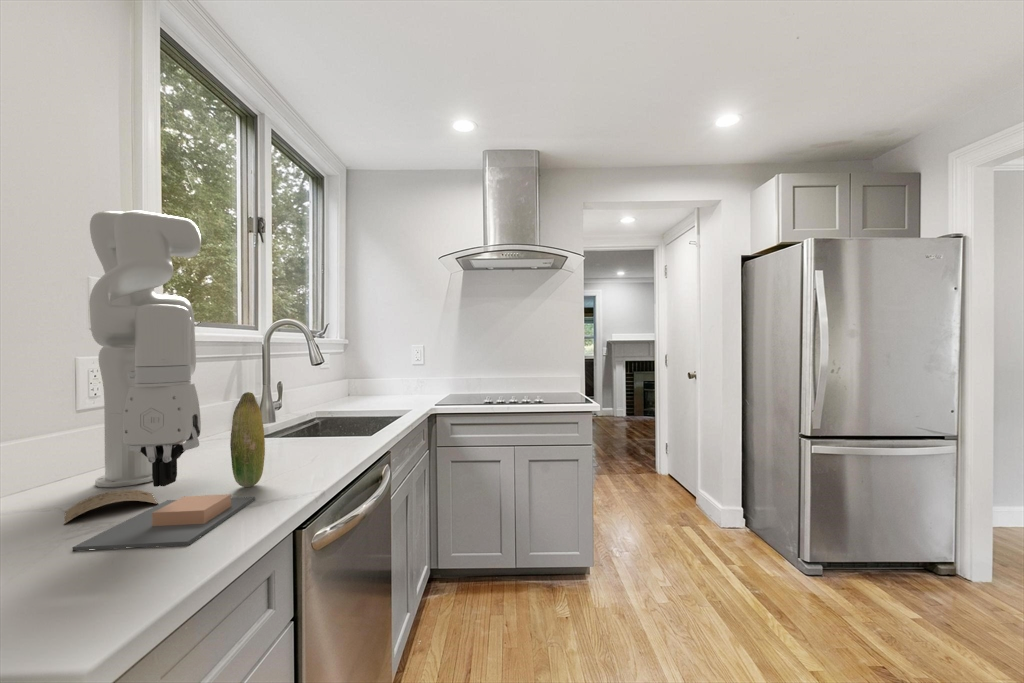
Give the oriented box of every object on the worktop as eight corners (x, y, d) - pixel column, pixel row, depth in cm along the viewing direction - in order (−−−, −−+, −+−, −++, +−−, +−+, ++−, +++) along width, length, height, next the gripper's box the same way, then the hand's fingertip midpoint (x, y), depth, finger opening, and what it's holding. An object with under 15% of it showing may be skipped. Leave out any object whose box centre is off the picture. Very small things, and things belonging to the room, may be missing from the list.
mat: (167, 503, 85) (167, 500, 85) (254, 499, 86) (254, 496, 86) (72, 551, 65) (72, 547, 65) (188, 545, 66) (188, 541, 66)
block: (184, 496, 80) (230, 494, 81) (184, 508, 80) (231, 506, 81) (152, 512, 72) (204, 510, 73) (152, 526, 72) (204, 523, 73)
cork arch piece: (59, 529, 75) (59, 513, 75) (56, 515, 81) (56, 500, 81) (167, 506, 85) (167, 492, 85) (156, 495, 92) (156, 482, 92)
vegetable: (272, 484, 96) (271, 391, 96) (248, 493, 90) (247, 394, 90) (249, 482, 98) (248, 390, 98) (224, 491, 92) (223, 393, 92)
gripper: (98, 379, 72) (99, 493, 72) (195, 377, 73) (196, 489, 73) (134, 376, 80) (135, 479, 80) (221, 374, 81) (223, 476, 81)
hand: (164, 483), depth 76 cm, fingers closed
